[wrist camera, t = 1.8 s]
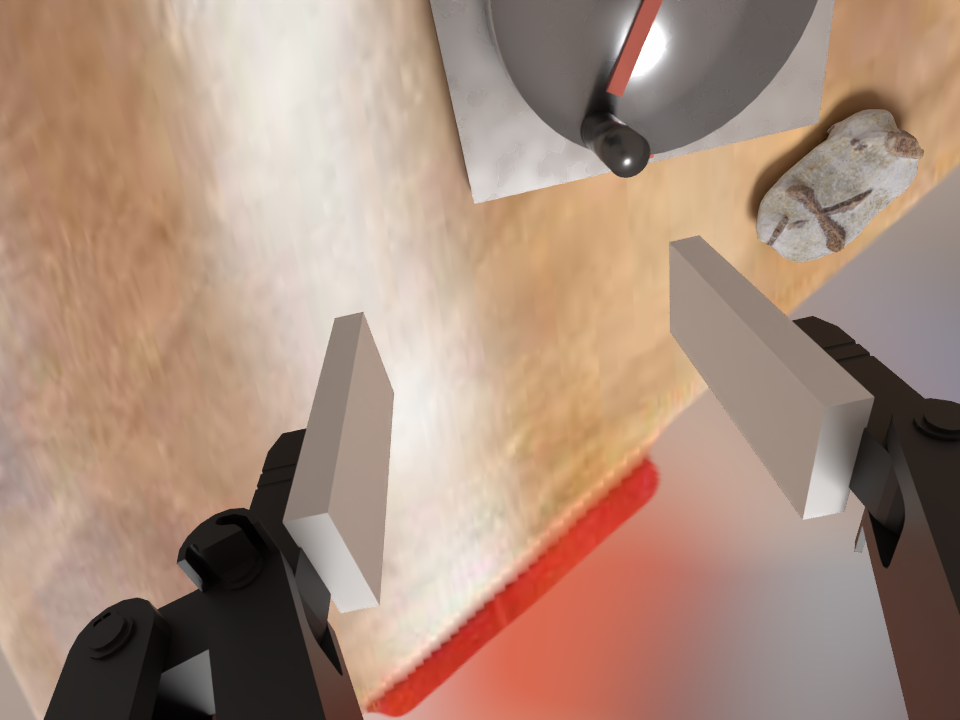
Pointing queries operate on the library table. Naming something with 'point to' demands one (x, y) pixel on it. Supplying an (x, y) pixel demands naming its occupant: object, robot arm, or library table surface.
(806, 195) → the stone
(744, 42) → the crank handle wheel
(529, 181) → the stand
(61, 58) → the library table surface
